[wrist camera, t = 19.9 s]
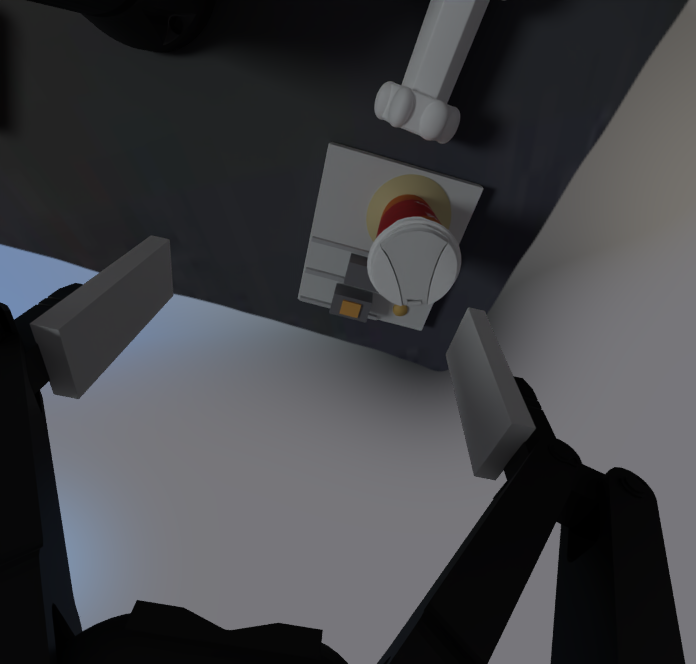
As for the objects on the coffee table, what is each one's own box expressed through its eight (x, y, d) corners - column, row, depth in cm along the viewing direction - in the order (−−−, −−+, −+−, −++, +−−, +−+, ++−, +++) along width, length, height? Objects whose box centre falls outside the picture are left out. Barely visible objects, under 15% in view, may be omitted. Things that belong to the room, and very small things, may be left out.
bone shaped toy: (434, -70, 33) (437, -115, 26) (524, -33, 34) (549, -68, 27) (375, 114, 41) (365, 116, 35) (447, 143, 42) (452, 151, 35)
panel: (300, 292, 53) (293, 309, 49) (330, 141, 43) (325, 147, 38) (420, 323, 55) (423, 342, 51) (479, 184, 44) (489, 194, 40)
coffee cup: (440, 250, 46) (461, 310, 34) (374, 254, 47) (370, 315, 35) (442, 178, 42) (467, 217, 29) (369, 185, 43) (362, 225, 30)
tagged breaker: (331, 302, 51) (328, 314, 49) (336, 283, 50) (333, 294, 47) (366, 311, 52) (365, 323, 49) (372, 292, 50) (372, 304, 47)
